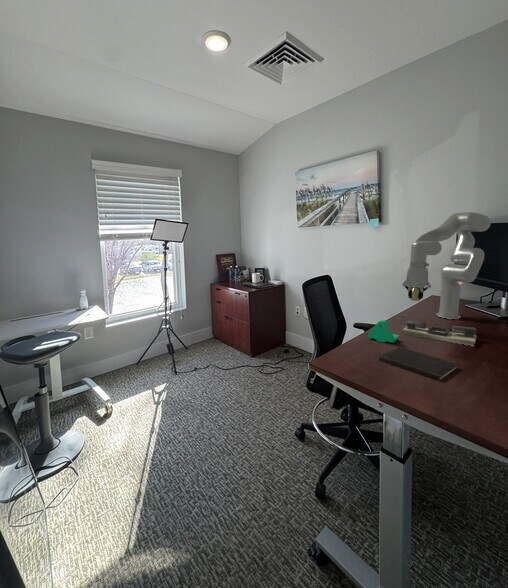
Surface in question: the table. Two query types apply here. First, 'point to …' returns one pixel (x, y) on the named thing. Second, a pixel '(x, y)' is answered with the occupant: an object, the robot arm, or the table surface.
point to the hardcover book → (419, 363)
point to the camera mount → (382, 332)
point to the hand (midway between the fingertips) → (415, 298)
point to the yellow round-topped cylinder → (415, 293)
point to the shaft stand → (441, 333)
